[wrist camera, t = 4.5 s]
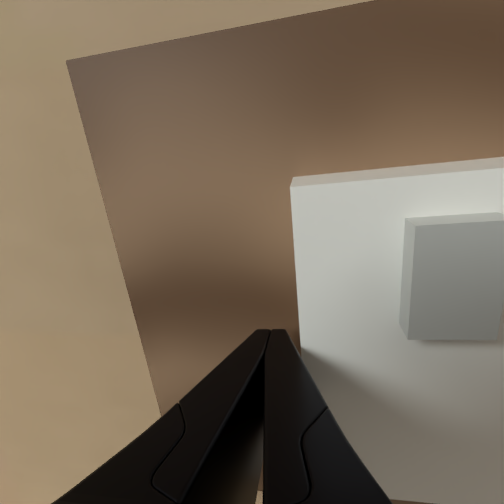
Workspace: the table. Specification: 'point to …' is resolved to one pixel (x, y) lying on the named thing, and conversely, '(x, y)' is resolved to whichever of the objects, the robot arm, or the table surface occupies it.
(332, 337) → the white panel with tab
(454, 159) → the brown flat block
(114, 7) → the table surface
